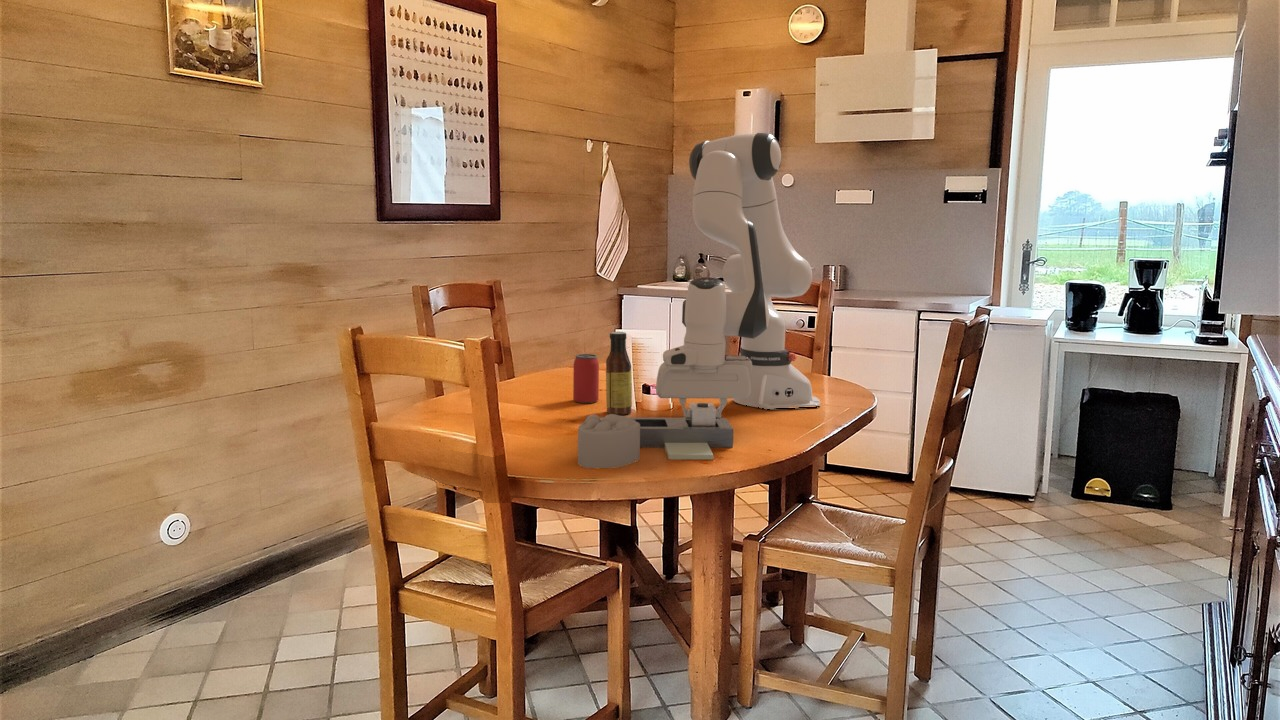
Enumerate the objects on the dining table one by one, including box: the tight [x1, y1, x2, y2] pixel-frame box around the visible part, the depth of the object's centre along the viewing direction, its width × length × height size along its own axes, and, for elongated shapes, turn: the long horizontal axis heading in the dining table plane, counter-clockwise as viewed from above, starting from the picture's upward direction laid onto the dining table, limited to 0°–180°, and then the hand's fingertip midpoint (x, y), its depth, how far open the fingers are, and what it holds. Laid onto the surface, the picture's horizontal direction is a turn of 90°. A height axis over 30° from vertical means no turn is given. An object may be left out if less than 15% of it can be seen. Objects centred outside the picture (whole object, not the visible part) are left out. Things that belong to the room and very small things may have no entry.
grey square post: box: [689, 402, 717, 427], centre depth 184 cm, size 5×5×8 cm
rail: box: [628, 416, 734, 448], centre depth 184 cm, size 24×10×4 cm, turn 94°
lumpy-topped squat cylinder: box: [577, 413, 641, 469], centre depth 169 cm, size 10×13×9 cm
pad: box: [663, 443, 714, 460], centre depth 175 cm, size 9×9×1 cm
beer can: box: [572, 353, 600, 404], centre depth 221 cm, size 7×7×12 cm
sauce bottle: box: [605, 331, 633, 416], centre depth 208 cm, size 7×6×20 cm
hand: (702, 418), depth 184 cm, fingers open, 5 cm apart
